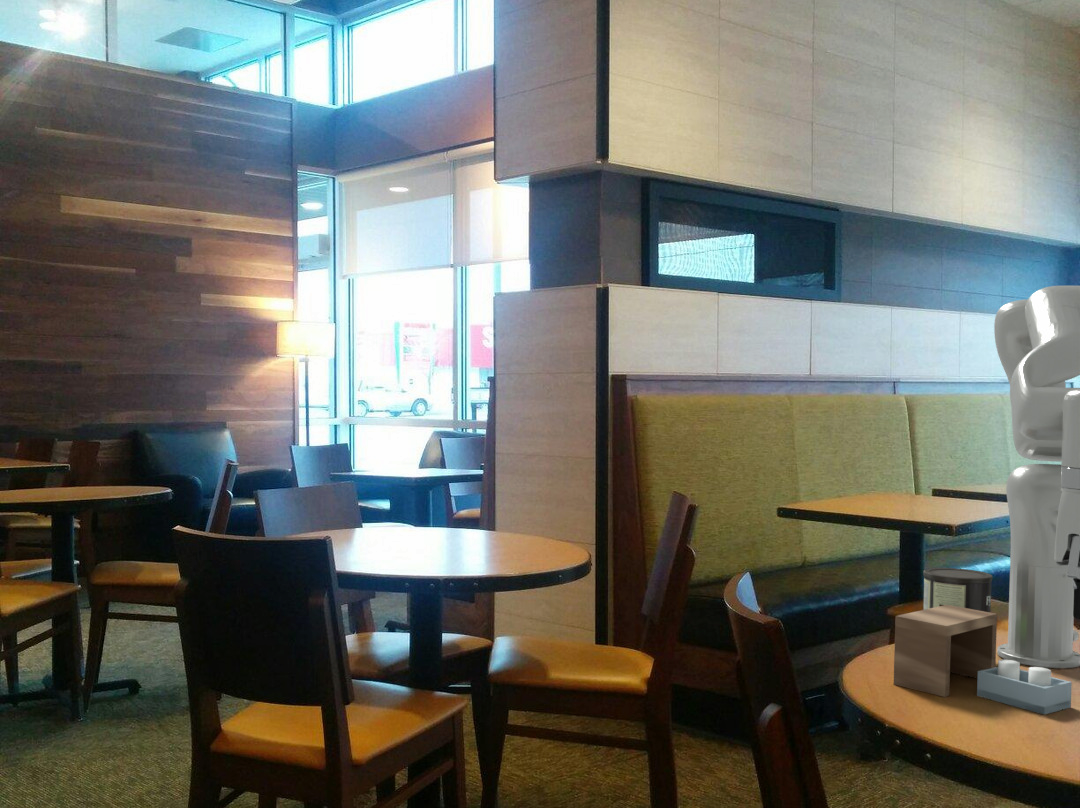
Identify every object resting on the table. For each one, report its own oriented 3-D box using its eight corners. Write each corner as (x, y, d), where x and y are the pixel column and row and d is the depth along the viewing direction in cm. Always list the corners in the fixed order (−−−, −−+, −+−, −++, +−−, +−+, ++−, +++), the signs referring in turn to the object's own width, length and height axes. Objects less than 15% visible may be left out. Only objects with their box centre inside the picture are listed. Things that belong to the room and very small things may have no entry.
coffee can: (982, 654, 176) (985, 569, 175) (996, 670, 166) (998, 580, 165) (916, 650, 178) (919, 565, 178) (926, 665, 168) (928, 576, 167)
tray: (1003, 689, 155) (1004, 655, 155) (1070, 707, 147) (1072, 671, 147) (977, 695, 151) (978, 660, 151) (1044, 714, 143) (1045, 677, 143)
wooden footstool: (944, 669, 166) (946, 604, 166) (995, 680, 160) (997, 613, 160) (893, 684, 156) (895, 616, 156) (944, 697, 150) (946, 626, 150)
